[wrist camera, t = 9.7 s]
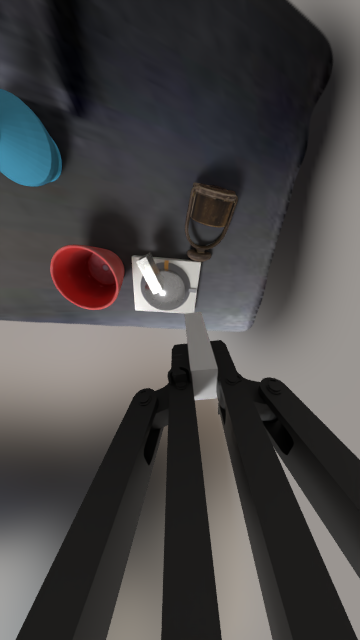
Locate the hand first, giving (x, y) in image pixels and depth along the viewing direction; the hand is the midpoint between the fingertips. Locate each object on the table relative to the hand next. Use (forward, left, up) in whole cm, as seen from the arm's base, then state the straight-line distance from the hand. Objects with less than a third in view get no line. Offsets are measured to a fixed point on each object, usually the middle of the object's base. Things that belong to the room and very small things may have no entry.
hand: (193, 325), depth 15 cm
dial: (-5, -3, -21) cm, 22 cm away
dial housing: (-4, -4, -23) cm, 24 cm away
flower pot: (-17, -1, -24) cm, 29 cm away
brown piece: (+3, +8, -24) cm, 25 cm away
